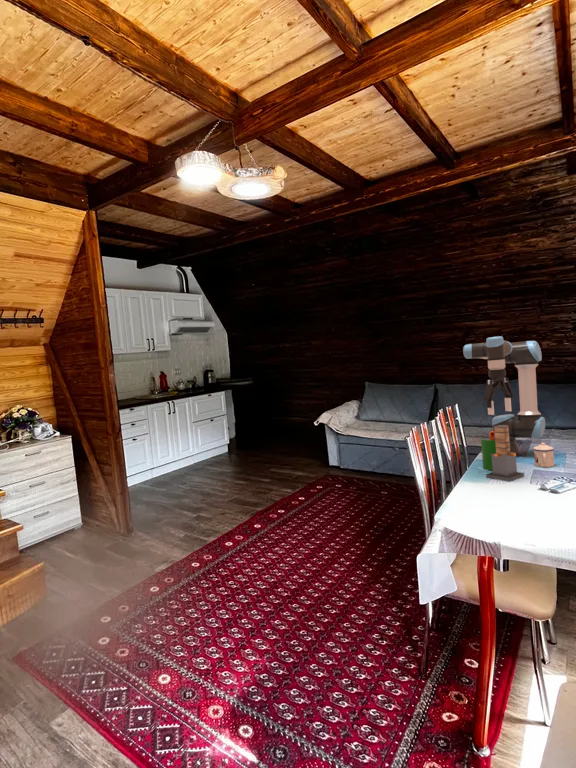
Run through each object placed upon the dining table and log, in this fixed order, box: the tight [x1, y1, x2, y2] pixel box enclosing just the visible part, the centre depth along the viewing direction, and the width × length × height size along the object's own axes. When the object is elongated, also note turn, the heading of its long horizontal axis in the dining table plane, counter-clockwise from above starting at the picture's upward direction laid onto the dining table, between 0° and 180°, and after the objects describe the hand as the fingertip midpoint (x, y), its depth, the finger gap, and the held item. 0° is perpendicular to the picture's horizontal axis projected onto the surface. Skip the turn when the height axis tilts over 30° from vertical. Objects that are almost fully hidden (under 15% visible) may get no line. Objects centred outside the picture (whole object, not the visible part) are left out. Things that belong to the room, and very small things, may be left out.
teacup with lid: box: [533, 442, 555, 468], centre depth 223 cm, size 12×9×12 cm
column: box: [494, 425, 510, 455], centre depth 210 cm, size 5×5×23 cm
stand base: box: [485, 452, 525, 483], centre depth 211 cm, size 12×12×12 cm
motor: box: [480, 430, 496, 472], centre depth 226 cm, size 10×9×20 cm
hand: (500, 412), depth 210 cm, fingers open, 13 cm apart
